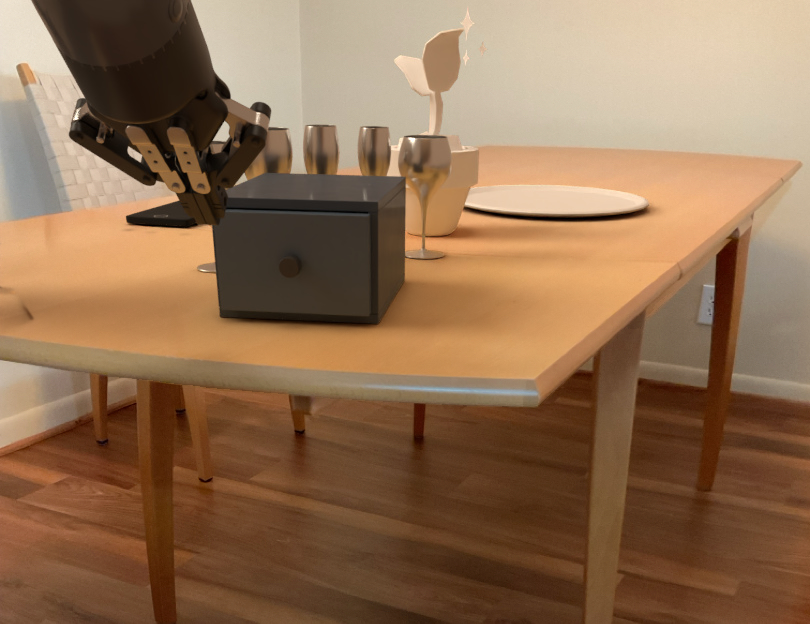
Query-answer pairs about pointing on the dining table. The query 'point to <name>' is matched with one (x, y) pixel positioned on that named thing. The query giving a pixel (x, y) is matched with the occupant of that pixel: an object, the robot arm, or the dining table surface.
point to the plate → (553, 201)
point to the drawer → (295, 261)
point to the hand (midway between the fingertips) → (210, 214)
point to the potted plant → (431, 80)
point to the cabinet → (336, 194)
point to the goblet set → (417, 161)
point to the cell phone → (163, 216)
